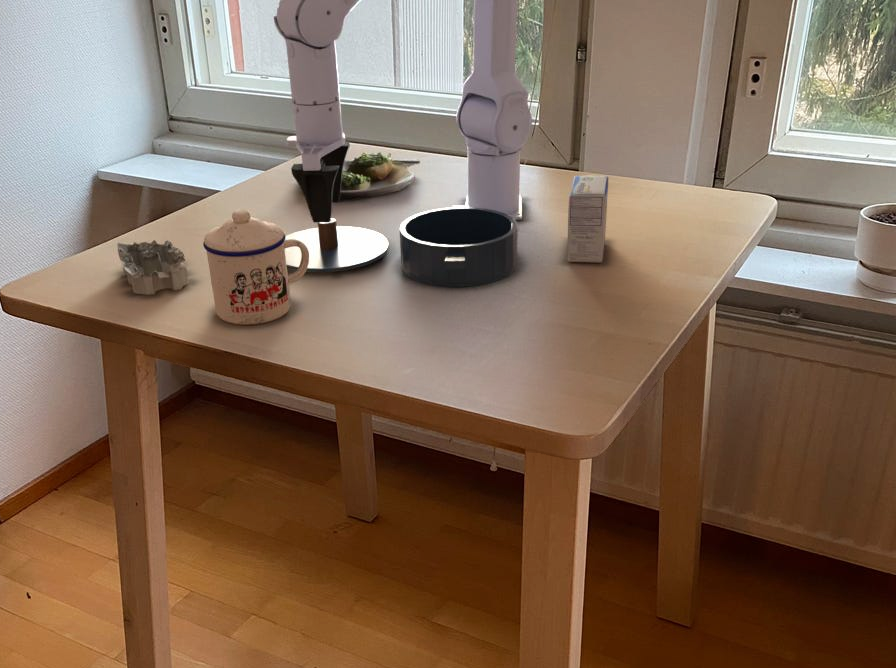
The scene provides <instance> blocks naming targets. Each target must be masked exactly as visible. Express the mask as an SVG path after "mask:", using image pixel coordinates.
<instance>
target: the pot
mask: <svg viewBox="0 0 896 668" xmlns="http://www.w3.org/2000/svg"><path fill="white" fill-rule="evenodd" d="M399 247H400V249H399V250H400V264H401V270H402V272H403V273H404V274H405V275H406V276H407V277H408V278H410V279H411V280H414V281H416V282H419V283H420V284H425V285H430V286H436V287H445V288H447V287H448V288H463V287H464V288H465V287H475V286H481V285H482V286H483V285H487V284H492V283H494V282H497V281H500V280H503V279H504V278H507V277H508V276H510V275H511V274H512V273H513V272H514V271H515V270H516V268H517V264H518V222H517V220H514V218H512V217H511V216H509V215H507V214H505V213H502V212H499V211H495V210H490V209H484V208H474V207H471V206H466V205H452V207H441V208H436V209H431V210H426V211H423V212H419V213H416V214H413V215H412V216H410V217H408V218H406V219H405V220H404V221H402V222H401V223H400V227H399Z"/></svg>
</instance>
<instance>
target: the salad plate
mask: <svg viewBox="0 0 896 668" xmlns="http://www.w3.org/2000/svg"><path fill="white" fill-rule="evenodd" d="M391 156H392V153H390V152H389V153H388V155H387V156H385V155H383V154H382V153H381V152H380V151H379V152H377V153H375V152H373V153H369V152H363V153H361V155H360V156H358V157H354V159H345V161H344V166H343V172H342V183H341V193H340V199H339V202H347V201H355V200H359V199H369V198H373V197H378V196H382V195H386V194H389V193H394V192H399V191H401V190H403V189H405V188H406V187H407V186H408V185H410V184H411V183H412V182H413V181H414V180H415V179H416V175H415V174H414V173H413V172H412V171H411V170H408V169H409V168H410V167H412V166H416V165H417V166H418V165H419V164H420V163H421V159H398V158H397V159H396V158H393V159H392V158H391Z"/></svg>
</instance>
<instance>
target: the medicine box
mask: <svg viewBox="0 0 896 668" xmlns="http://www.w3.org/2000/svg"><path fill="white" fill-rule="evenodd" d="M608 195H609V177H608V176H607V175H589V174H587V175H575V176H574V177H573V182H572V186H571V190H570V193H569V196H568V209H567V210H568V211H567V212H568V213H567V214H568V215H567V216H568V217H567V243H566V244H567V245H566V246H567V251H566V259H567V260H566V261H567V262H570V263H592V264H593V263H595V264H601V263H602V262H603V259H604V251H605V244H606V243H605V242H606V233H607V232H606V230H607V214H608Z"/></svg>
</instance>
